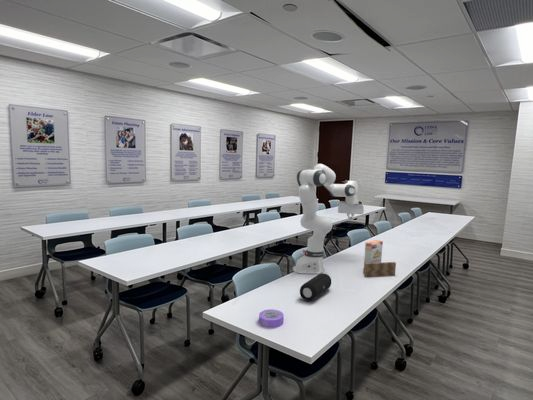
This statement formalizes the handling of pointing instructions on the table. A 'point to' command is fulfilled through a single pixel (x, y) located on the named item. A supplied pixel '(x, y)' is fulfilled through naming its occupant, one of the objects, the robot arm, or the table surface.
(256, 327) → the table surface
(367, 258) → the cracker box
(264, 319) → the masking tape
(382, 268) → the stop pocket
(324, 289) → the portable speaker
